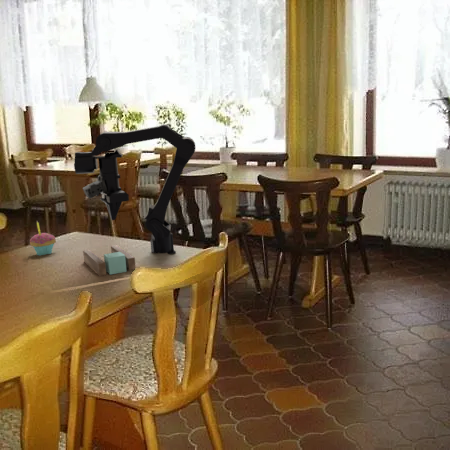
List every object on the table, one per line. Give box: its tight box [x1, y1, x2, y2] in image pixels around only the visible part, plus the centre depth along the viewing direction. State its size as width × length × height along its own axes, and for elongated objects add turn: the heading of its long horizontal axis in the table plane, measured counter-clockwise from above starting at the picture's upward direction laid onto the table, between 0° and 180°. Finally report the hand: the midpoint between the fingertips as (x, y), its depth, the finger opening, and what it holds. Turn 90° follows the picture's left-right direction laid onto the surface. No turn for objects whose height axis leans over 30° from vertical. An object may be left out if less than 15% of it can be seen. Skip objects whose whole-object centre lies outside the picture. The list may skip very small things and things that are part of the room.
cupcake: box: [29, 220, 57, 256], centre depth 219 cm, size 9×8×12 cm
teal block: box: [103, 252, 127, 275], centre depth 193 cm, size 5×5×5 cm
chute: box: [82, 244, 137, 277], centre depth 199 cm, size 11×18×4 cm, turn 26°
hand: (113, 219), depth 210 cm, fingers closed
